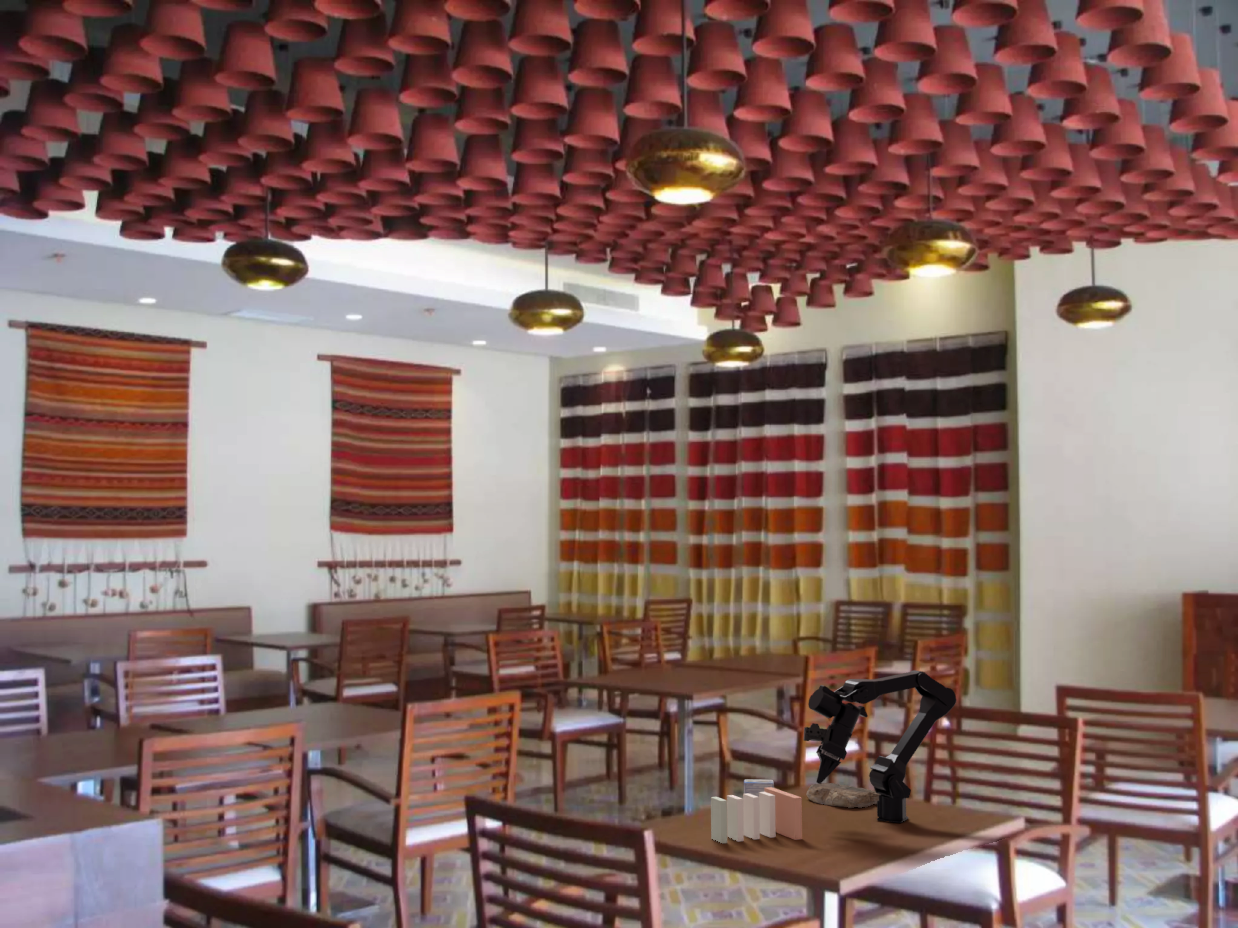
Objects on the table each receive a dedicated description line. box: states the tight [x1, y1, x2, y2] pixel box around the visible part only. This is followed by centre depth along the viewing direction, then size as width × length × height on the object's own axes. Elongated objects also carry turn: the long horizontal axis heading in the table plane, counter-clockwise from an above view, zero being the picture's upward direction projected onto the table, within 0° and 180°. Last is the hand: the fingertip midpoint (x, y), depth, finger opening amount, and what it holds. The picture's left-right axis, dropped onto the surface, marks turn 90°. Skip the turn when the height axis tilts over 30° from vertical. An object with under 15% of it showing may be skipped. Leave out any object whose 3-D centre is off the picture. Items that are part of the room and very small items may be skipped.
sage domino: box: [710, 796, 728, 844], centre depth 301 cm, size 2×5×10 cm, turn 24°
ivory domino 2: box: [742, 793, 761, 840], centre depth 305 cm, size 2×5×10 cm, turn 24°
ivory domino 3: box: [759, 792, 777, 838], centre depth 307 cm, size 2×5×10 cm, turn 24°
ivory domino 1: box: [726, 794, 745, 842], centre depth 303 cm, size 2×5×10 cm, turn 25°
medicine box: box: [743, 778, 775, 797], centre depth 331 cm, size 8×4×9 cm, turn 84°
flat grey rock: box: [806, 782, 880, 809], centre depth 346 cm, size 14×5×20 cm
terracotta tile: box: [764, 787, 803, 841], centre depth 309 cm, size 2×14×10 cm, turn 24°
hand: (818, 783), depth 315 cm, fingers closed
